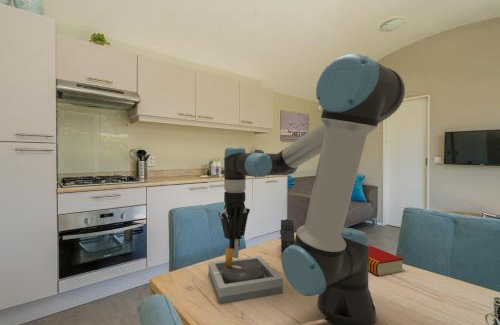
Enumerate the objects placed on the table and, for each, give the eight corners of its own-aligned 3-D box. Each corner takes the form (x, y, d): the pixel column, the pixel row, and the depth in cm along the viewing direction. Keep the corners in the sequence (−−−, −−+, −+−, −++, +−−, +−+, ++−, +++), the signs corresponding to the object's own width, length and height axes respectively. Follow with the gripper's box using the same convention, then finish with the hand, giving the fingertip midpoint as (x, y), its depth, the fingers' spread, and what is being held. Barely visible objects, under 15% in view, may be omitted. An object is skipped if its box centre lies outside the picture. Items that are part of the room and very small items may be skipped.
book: (342, 258, 107) (342, 247, 107) (366, 255, 111) (366, 243, 111) (376, 277, 90) (376, 263, 90) (403, 272, 94) (403, 258, 94)
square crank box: (282, 292, 79) (282, 277, 79) (219, 304, 72) (219, 287, 72) (260, 267, 98) (260, 255, 98) (208, 274, 91) (208, 261, 91)
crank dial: (270, 272, 88) (270, 247, 88) (252, 290, 76) (252, 262, 76) (235, 264, 94) (235, 242, 94) (213, 280, 82) (213, 254, 82)
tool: (292, 240, 122) (293, 216, 115) (295, 274, 105) (296, 247, 98) (279, 240, 123) (280, 215, 116) (280, 273, 106) (281, 247, 99)
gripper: (241, 188, 97) (241, 249, 97) (213, 191, 88) (213, 258, 89) (255, 190, 91) (254, 255, 92) (226, 194, 82) (226, 265, 83)
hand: (234, 256), depth 90 cm, fingers closed
